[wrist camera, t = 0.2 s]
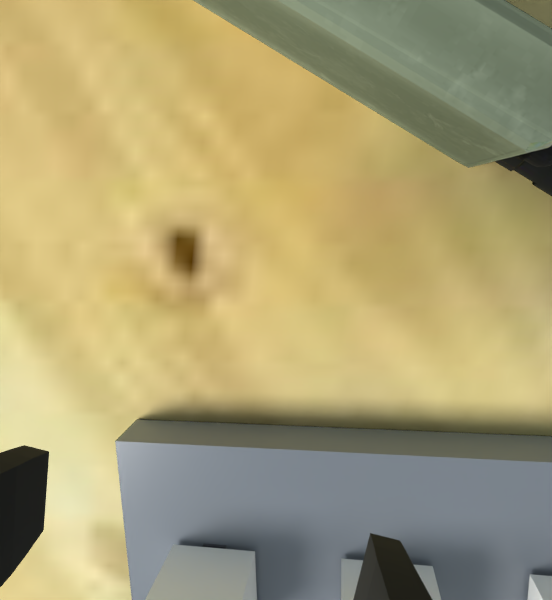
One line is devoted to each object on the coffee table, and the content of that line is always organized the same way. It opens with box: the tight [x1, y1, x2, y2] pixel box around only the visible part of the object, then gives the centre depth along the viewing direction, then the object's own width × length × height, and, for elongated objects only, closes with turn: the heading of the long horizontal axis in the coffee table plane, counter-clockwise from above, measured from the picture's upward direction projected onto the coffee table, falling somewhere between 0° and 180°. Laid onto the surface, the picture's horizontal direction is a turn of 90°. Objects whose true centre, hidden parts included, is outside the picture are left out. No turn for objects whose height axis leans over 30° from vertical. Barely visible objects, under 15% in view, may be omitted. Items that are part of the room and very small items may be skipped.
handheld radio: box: [194, 0, 552, 196], centre depth 13 cm, size 7×3×25 cm
